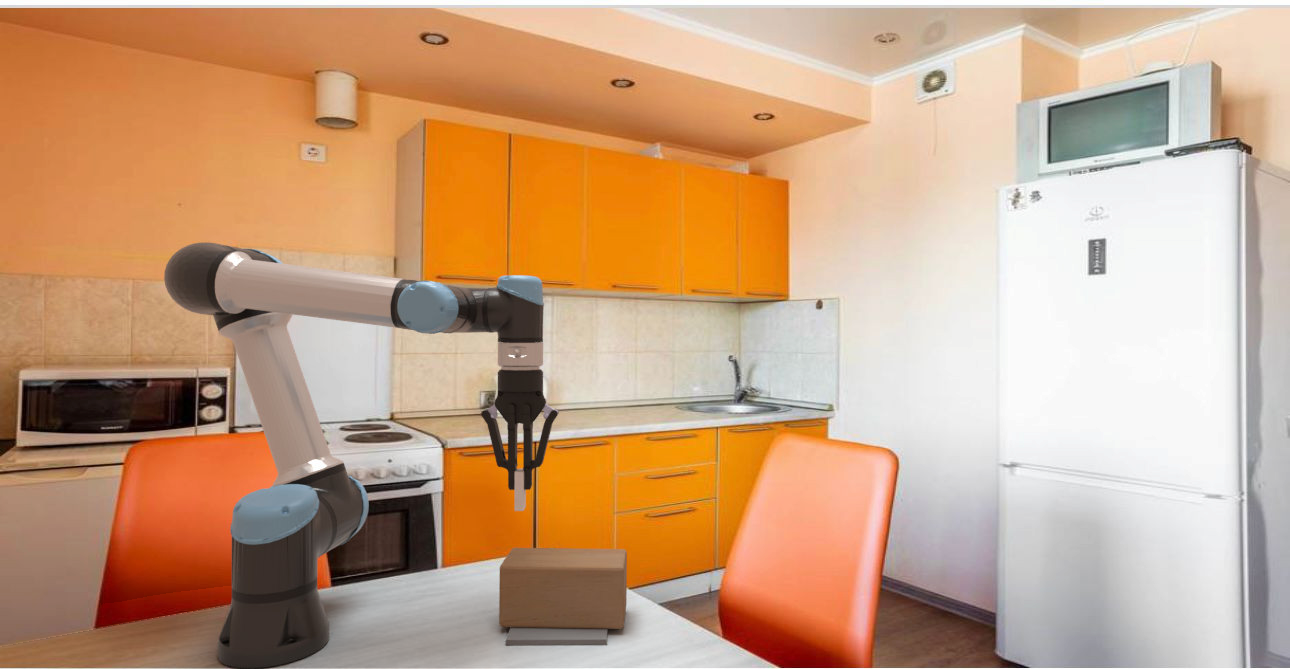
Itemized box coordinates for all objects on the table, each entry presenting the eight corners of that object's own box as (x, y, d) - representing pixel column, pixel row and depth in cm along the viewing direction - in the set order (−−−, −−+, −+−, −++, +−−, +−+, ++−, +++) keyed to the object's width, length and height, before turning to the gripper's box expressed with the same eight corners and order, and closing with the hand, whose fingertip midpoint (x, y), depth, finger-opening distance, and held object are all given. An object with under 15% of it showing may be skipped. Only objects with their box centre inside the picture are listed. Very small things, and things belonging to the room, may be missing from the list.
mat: (505, 645, 110) (505, 639, 110) (524, 596, 130) (524, 592, 130) (606, 644, 111) (606, 639, 111) (609, 596, 131) (609, 592, 131)
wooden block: (511, 604, 125) (626, 606, 124) (498, 628, 115) (623, 630, 114) (511, 546, 125) (626, 548, 124) (498, 565, 115) (623, 567, 114)
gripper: (476, 369, 116) (476, 514, 116) (557, 369, 116) (557, 514, 117) (485, 367, 124) (485, 503, 124) (561, 367, 124) (561, 503, 124)
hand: (520, 508), depth 120 cm, fingers closed
